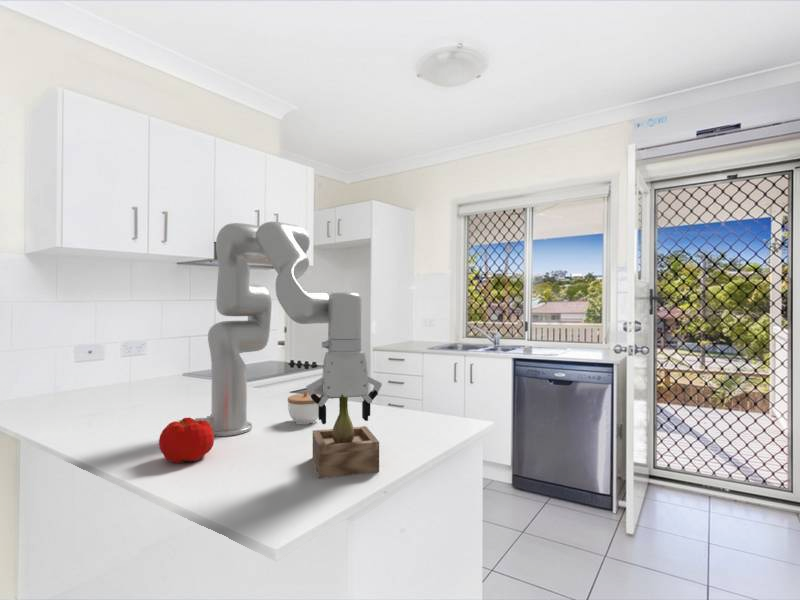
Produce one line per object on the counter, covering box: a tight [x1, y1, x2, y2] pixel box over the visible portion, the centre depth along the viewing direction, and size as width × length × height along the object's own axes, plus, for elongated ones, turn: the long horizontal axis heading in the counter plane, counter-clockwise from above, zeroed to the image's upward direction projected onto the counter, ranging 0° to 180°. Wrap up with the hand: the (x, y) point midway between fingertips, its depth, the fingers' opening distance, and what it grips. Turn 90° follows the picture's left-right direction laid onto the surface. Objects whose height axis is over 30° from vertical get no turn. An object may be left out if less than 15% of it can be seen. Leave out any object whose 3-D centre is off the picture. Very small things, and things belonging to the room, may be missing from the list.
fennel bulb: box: [332, 395, 354, 443], centre depth 102 cm, size 6×5×12 cm
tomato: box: [158, 416, 215, 464], centre depth 106 cm, size 11×12×9 cm
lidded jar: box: [287, 390, 322, 425], centre depth 139 cm, size 11×11×9 cm
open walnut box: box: [312, 425, 380, 479], centre depth 102 cm, size 13×13×6 cm
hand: (344, 421), depth 102 cm, fingers open, 9 cm apart
